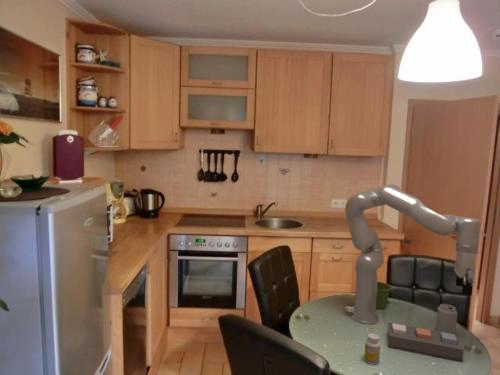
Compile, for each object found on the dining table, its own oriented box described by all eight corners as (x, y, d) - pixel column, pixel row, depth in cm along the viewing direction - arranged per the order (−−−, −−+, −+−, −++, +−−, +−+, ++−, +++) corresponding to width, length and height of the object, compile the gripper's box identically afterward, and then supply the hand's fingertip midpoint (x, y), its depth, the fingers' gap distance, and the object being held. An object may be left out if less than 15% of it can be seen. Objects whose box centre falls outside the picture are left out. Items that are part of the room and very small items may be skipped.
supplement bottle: (376, 366, 127) (377, 341, 126) (362, 360, 130) (363, 336, 129) (381, 360, 131) (383, 335, 130) (367, 354, 134) (368, 331, 134)
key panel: (388, 347, 140) (389, 335, 139) (387, 333, 151) (388, 322, 151) (462, 362, 131) (463, 349, 130) (455, 346, 142) (456, 334, 142)
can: (458, 337, 149) (460, 311, 147) (439, 335, 150) (441, 309, 149) (451, 329, 156) (453, 303, 155) (433, 327, 157) (435, 301, 156)
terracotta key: (416, 342, 139) (417, 333, 139) (415, 336, 144) (416, 327, 143) (430, 345, 137) (431, 335, 137) (428, 339, 142) (429, 329, 142)
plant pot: (388, 314, 169) (389, 291, 168) (363, 308, 176) (364, 286, 175) (392, 305, 179) (393, 284, 178) (369, 299, 186) (370, 279, 185)
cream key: (392, 338, 142) (392, 328, 142) (391, 332, 147) (392, 323, 147) (405, 340, 141) (406, 331, 140) (404, 334, 145) (405, 325, 145)
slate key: (441, 347, 136) (442, 337, 136) (439, 341, 141) (440, 331, 140) (456, 350, 134) (457, 340, 134) (453, 343, 139) (454, 334, 139)
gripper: (451, 242, 147) (448, 281, 149) (461, 253, 131) (458, 297, 132) (471, 244, 145) (468, 284, 146) (484, 255, 128) (480, 300, 130)
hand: (463, 290), depth 139 cm, fingers open, 9 cm apart
